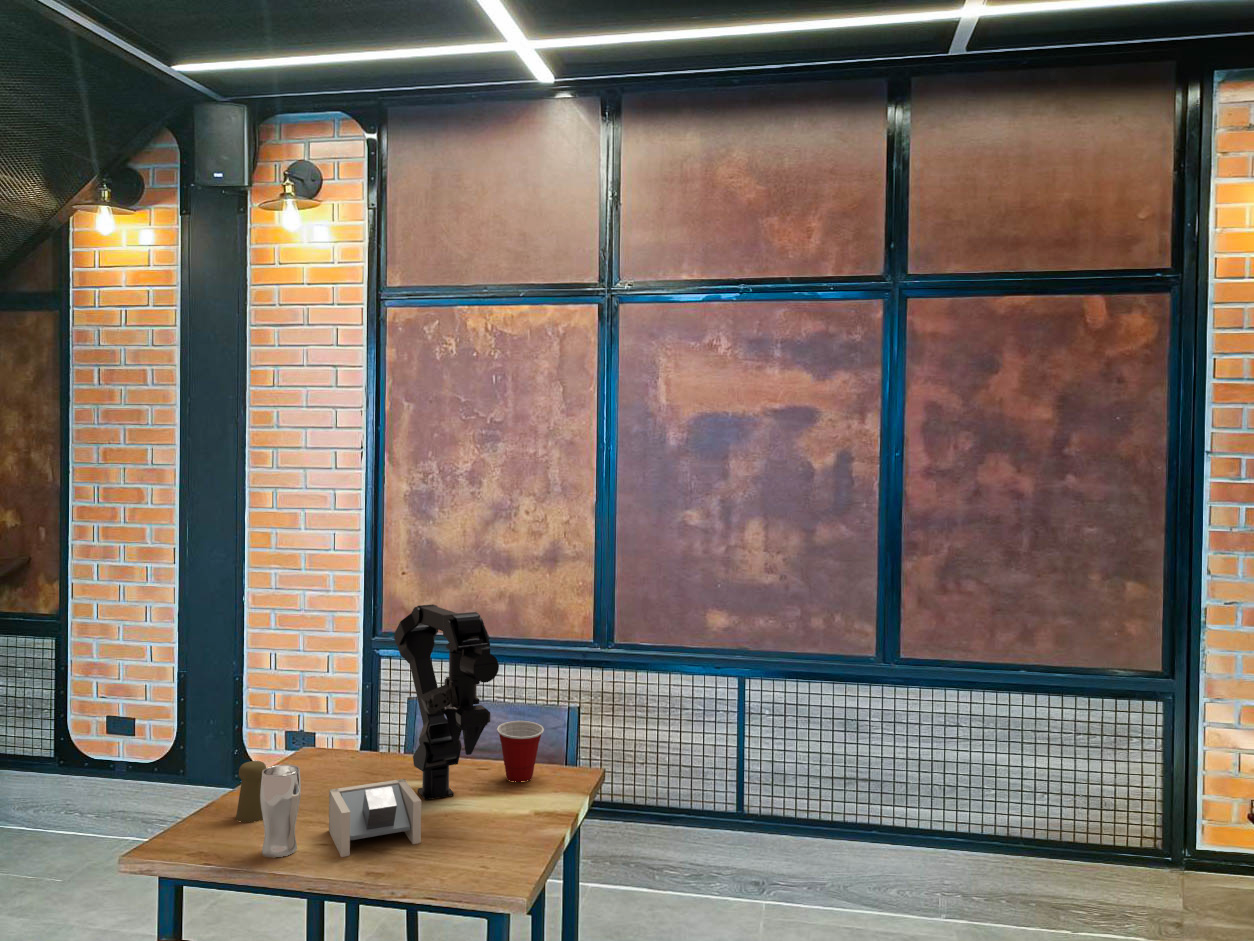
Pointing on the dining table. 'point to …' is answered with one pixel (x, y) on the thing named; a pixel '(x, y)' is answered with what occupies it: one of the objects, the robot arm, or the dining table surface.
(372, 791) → the block
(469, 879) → the dining table surface
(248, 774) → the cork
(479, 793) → the dining table surface
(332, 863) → the dining table surface
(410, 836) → the white step stool
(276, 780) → the beer glass
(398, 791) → the trapdoor
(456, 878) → the dining table surface
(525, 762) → the plastic cup
